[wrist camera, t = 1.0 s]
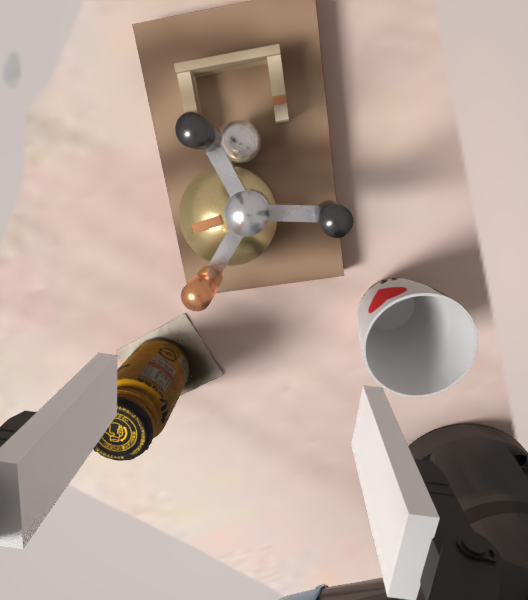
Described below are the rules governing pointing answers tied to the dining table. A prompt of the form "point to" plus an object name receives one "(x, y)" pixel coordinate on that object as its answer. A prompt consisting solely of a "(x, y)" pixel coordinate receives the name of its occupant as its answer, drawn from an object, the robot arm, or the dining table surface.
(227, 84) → the stand
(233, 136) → the ball
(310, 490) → the dining table surface
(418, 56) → the dining table surface
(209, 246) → the capstan
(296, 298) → the dining table surface
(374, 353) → the cup
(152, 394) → the condiment
